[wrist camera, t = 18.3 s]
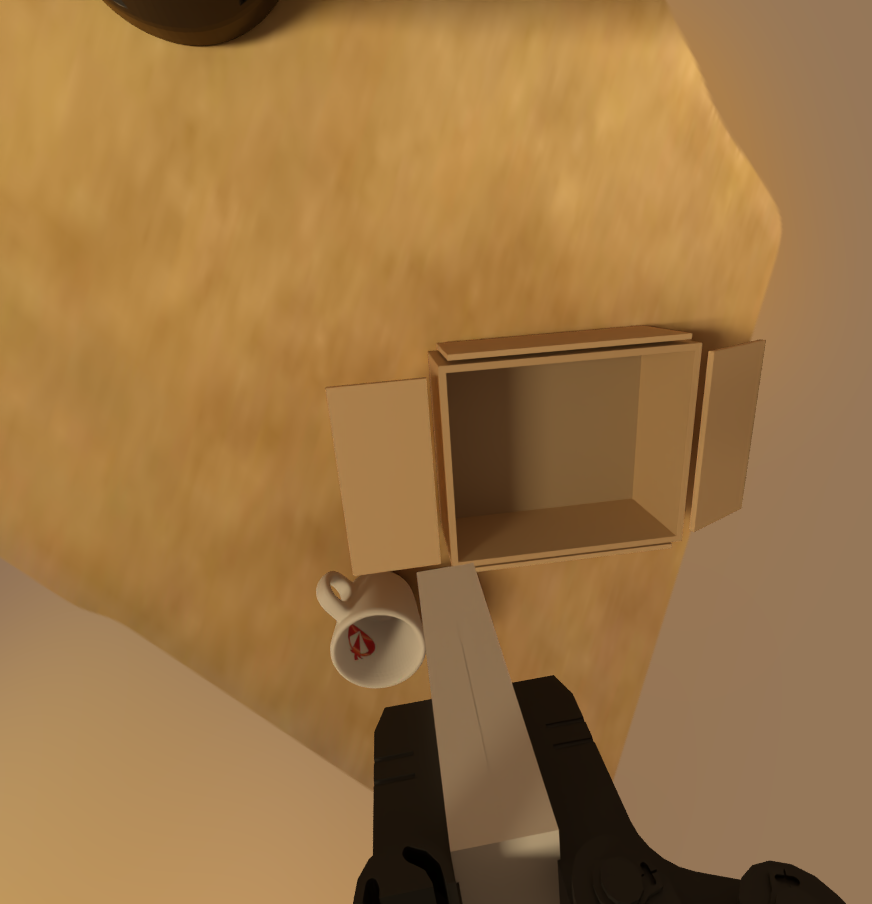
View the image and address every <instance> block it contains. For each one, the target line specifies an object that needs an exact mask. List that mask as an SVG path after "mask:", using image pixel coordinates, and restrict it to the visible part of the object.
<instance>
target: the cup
mask: <svg viewBox="0 0 872 904" xmlns="http://www.w3.org/2000/svg"><path fill="white" fill-rule="evenodd" d="M330 585H332V586H333V587H335V588H336V589H337V591H338V592H339V594H340V596H341V600H340V599H339V598H338V597H336V596H335V594H334V593H333V591H332V589H331V586H330ZM316 595H317V599H318V601H319V603H320V605H321V606H322V607H323V608H324V610H325V611H326V612H328V613H329V614H330V615H331V616H332V617H333V618H335V619H336V621H337V623H336V627H335V630H334V634H333V637H332V641H331V648H330V650H331V658H332V661H333V664H334V666H335V668H336V669H337V671H338V672H339V673H340V674H341V675H342V676H343V677H344V678H345V679H347V680H348V681H350V682H352V683H354V684H356V685H359V686H362V687H367V688H385V687H390V686H393V685H396V684H399V683H401V682H403V681H405V680H406V679H408V678H409V677H411V676H412V675H413V674H414V673H415V672H416V671H417V670H418V668H419V667H420V666H421V664H422V662H423V660H424V657H425V654H426V647H425V639H424V630H423V626H422V622H421V619H420V615H419V612H418V608H417V605H416V601H415V598H414V595H413V592H412V590H411V588H410V586H409V585H408V583H407V582H406V581H405V580H404V579H403V578H402V577H400V576H399V575H397V574H395V573H393V572H389V571H387V572H380V573H373V574H366V575H361V576H359V577H358V578H357V579H355V580H354V581H353V582H351V581H350V580H348V579H347V578H346V577H345V576H343V575H342V574H340V573H338V572H335V571H331V572H328V573H326V574H325V575H324V576H323V577H322V578H321V579H320V580H319V582H318V585H317V589H316Z"/></svg>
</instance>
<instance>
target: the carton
mask: <svg viewBox="0 0 872 904" xmlns="http://www.w3.org/2000/svg"><path fill="white" fill-rule="evenodd" d="M686 339H692V333H687V332H681V331H675V330H669V329H662V328H656V327H650V326H644V325H642V326H630V327H619V328H607V329H596V330H584V331H572V332H561V333H549V334H538V335H526V336H514V337H503V338H491V339H480V340H468V341H457V342H445V343H436V345H437V349H438V350H437V351H428V362H429V375H430V388H431V402H432V415H433V428H434V441H435V454H436V467H437V480H438V493H439V506H440V519H441V525H442V529H443V533H444V537H445V541H446V545H447V549H448V553H449V557H450V561H451V565H452V566H457V565H463V564H469V563H474V566H475V569H476V572H480V571H489V570H497V569H505V568H513V567H521V566H529V565H537V564H545V563H554V562H562V561H570V560H578V559H586V558H594V557H602V556H611V555H619V554H627V553H635V552H643V551H651V550H659V549H667V548H672V543H671V542H676V541H682V534H683V524H684V514H685V505H686V495H687V486H688V476H689V467H690V457H691V447H692V438H693V428H694V419H695V409H696V399H697V390H698V380H699V371H700V361H701V352H702V343H701V342H696V341H690V340H686Z"/></svg>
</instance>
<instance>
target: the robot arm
mask: <svg viewBox="0 0 872 904" xmlns="http://www.w3.org/2000/svg"><path fill="white" fill-rule="evenodd" d="M103 1H104V2H105V3H106V4H107V5H108V6H109V7H110V8H111V9H112V10H113V11H115V12H116V13H117V14H118V15H120V16H121V17H122V18H124V19H125V20H126V21H128V22H129V23H131V24H132V25H134V26H136V27H137V28H139V29H141V30H143V31H145V32H146V33H148V34H151V35H153V36H155V37H158V38H161V39H163V40H166V41H170V42H174V43H179V44H184V45H212V44H218V43H222V42H226V41H229V40H232V39H234V38H237V37H239V36H241V35H243V34H244V33H246V32H248V31H249V30H251V29H252V28H254V27H255V26H256V25H257V24H259V23H260V22H261V21H262V20H263V19H264V18H265V17H266V16H267V15H268V14H269V13H270V11H271V10H272V9H273V8H274V6H275V5H276V3H277V2H278V0H103ZM416 573H417V581H418V589H419V597H420V606H421V614H422V622H423V630H424V639H425V647H426V655H427V663H428V672H429V680H430V688H431V696H432V699H430V700H424V701H419V702H413V703H408V704H403V705H397V706H392V707H386V708H384V711H383V713H382V715H381V718H380V720H379V722H378V725H377V727H376V729H375V732H374V761H375V764H374V811H373V812H374V813H373V814H374V816H373V856H372V857H371V858H370V859H369V860H368V862H367V864H366V865H365V867H364V869H363V871H362V873H361V875H360V876H359V878H358V881H357V886H356V891H355V896H354V902H353V904H846V903H845V902H844V901H843V900H842V899H841V898H840V897H839V896H838V895H837V894H836V893H834V892H833V891H832V890H831V889H830V888H829V887H827V886H826V885H825V884H824V883H823V882H821V881H820V880H819V879H818V878H817V877H815V876H813V875H812V874H810V873H807V872H805V871H803V870H802V869H799V868H798V867H796V866H794V865H791V864H786V863H781V862H775V861H766V862H763V863H759V864H755V865H752V866H751V867H750V868H749V870H748V871H747V872H746V873H745V874H744V875H743V877H742V878H741V880H739V879H733V878H728V877H722V876H717V875H711V874H706V873H700V872H695V871H691V870H688V869H685V868H681V867H678V866H677V865H675V864H673V863H671V862H669V861H667V860H665V859H663V858H662V857H661V856H660V855H659V854H657V853H656V852H655V851H653V850H652V849H651V848H650V847H649V846H648V845H647V844H646V843H645V842H644V840H643V839H642V838H641V837H640V836H639V835H638V833H637V832H636V830H635V828H634V826H633V825H632V823H631V821H630V819H629V817H628V815H627V813H626V810H625V808H624V806H623V804H622V801H621V799H620V797H619V795H618V793H617V790H616V788H615V786H614V784H613V782H612V779H611V777H610V775H609V773H608V771H607V768H606V766H605V764H604V762H603V760H602V757H601V755H600V753H599V751H598V749H597V746H596V744H595V742H593V739H592V735H591V733H590V731H589V729H588V727H587V724H586V722H584V719H583V716H582V713H581V711H580V709H579V707H578V705H577V702H576V700H575V698H574V696H573V694H572V693H571V692H570V691H569V690H568V689H567V688H566V687H565V686H564V685H563V684H562V683H561V682H560V681H559V680H558V679H557V678H556V677H555V676H554V675H552V676H547V677H541V678H536V679H530V680H525V681H519V682H514V683H512V682H511V679H510V676H509V673H508V669H507V666H506V663H505V660H504V657H503V654H502V651H501V647H500V644H499V641H498V638H497V635H496V632H495V629H494V626H493V622H492V619H491V616H490V613H489V610H488V607H487V604H486V601H485V597H484V594H483V591H482V588H481V585H480V582H479V579H478V575H477V572H476V569H475V566H474V563H469V564H463V565H457V566H451V567H445V568H439V569H433V570H427V571H421V572H416Z"/></svg>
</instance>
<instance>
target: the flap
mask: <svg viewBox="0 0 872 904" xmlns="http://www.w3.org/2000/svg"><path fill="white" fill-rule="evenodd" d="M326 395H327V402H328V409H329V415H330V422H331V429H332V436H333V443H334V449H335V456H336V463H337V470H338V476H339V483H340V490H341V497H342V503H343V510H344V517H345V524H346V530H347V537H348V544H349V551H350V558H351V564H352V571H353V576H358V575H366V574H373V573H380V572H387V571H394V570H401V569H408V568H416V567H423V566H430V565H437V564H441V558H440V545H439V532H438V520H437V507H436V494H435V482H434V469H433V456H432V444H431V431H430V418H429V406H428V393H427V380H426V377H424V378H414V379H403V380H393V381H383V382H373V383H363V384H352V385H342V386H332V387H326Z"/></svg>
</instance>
